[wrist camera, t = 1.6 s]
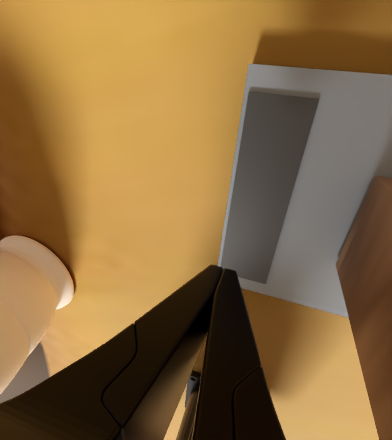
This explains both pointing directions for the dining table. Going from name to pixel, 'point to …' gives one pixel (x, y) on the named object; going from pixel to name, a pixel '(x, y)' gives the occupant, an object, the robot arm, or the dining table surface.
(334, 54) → the dining table surface
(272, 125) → the bridge deck
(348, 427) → the dining table surface
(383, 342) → the wooden block
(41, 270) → the jar
